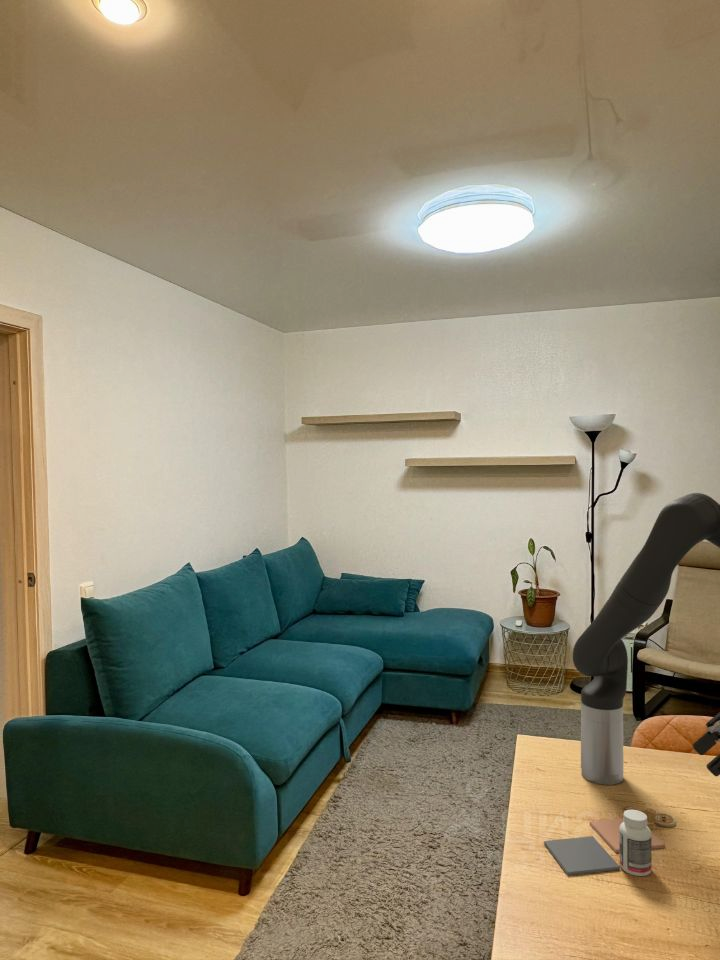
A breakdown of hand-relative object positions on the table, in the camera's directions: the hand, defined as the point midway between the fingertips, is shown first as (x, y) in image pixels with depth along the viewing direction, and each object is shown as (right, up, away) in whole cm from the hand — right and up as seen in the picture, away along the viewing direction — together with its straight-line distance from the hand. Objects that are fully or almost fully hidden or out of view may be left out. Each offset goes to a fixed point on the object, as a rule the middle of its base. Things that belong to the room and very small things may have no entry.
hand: (703, 761), depth 118 cm
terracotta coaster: (-8, -20, +13) cm, 26 cm away
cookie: (-1, -20, +19) cm, 28 cm away
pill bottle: (-11, -21, +3) cm, 24 cm away
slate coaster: (-20, -21, +6) cm, 29 cm away
